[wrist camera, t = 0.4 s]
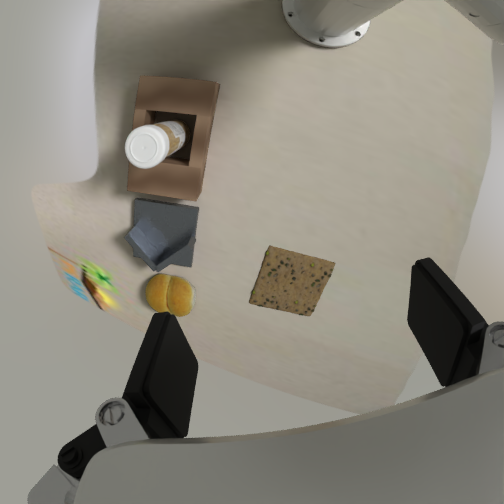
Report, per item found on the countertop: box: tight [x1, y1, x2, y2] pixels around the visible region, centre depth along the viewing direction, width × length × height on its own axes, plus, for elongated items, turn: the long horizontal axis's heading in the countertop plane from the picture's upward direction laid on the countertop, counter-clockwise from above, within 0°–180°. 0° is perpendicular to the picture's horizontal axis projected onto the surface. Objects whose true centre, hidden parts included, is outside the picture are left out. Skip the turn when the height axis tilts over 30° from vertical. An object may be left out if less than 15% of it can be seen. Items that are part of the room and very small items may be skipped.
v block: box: [124, 198, 199, 272], centre depth 44 cm, size 10×11×4 cm
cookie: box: [249, 246, 335, 316], centre depth 51 cm, size 12×12×1 cm
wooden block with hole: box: [127, 76, 220, 201], centre depth 37 cm, size 16×10×4 cm, turn 169°
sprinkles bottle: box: [125, 119, 190, 169], centre depth 33 cm, size 5×5×14 cm
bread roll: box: [145, 274, 196, 317], centre depth 50 cm, size 8×9×4 cm
